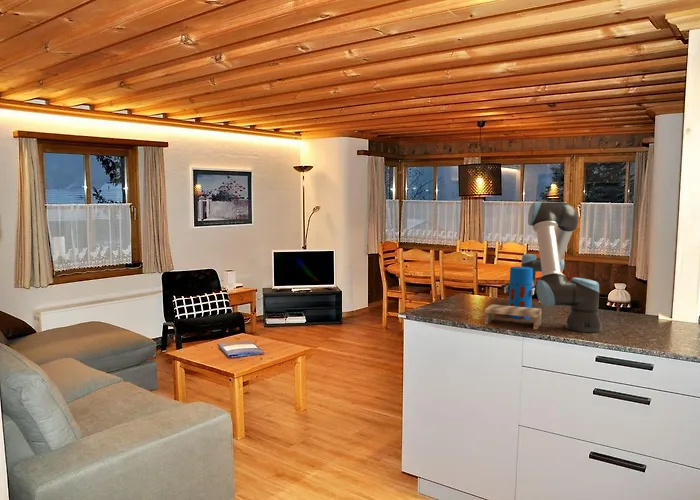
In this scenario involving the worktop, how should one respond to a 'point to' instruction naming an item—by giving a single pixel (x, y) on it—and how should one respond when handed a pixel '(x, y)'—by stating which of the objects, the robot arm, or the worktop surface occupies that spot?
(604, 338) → the worktop surface
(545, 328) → the worktop surface
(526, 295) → the thermos
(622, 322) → the worktop surface
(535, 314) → the stool
